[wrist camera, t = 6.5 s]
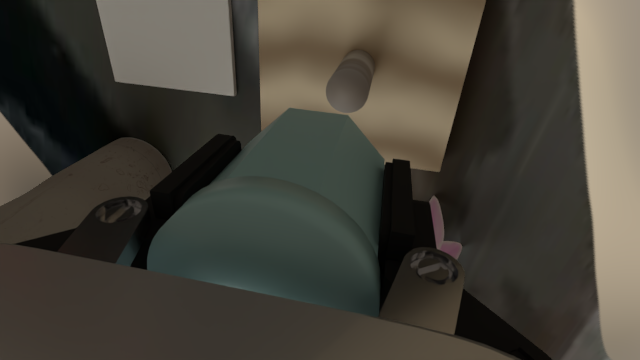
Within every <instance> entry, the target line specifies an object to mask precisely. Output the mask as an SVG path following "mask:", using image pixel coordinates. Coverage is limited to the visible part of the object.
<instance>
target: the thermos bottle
mask: <svg viewBox="0 0 640 360" xmlns="http://www.w3.org/2000/svg"><path fill="white" fill-rule="evenodd" d="M171 172H172V170H171V168H170V166H169V164H168V162H167V160H166V159H165V157H164V156H163V155H162V154H161V153H160V152H159V151H158V150H157V149H156V148H155V147H153V146H152V145H150V144H149V143H147V142H145V141H143V140H140V139H136V138H131V137H124V138H119V139H117V140H115V141H113V142H111V143H110V144H108V145H106V146H104V147H103V148H101V149H99V150H97V151H96V152H94V153H92V154H90V155H89V156H87V157H85V158H83V159H82V160H80V161H78V162H76V163H75V164H73V165H71V166H69V167H68V168H66V169H64V170H62V171H61V172H59V173H57V174H55V175H54V176H52V177H50V178H48V179H47V180H45V181H44V182H42V183H41V184H39V185H38V186H36V187H35V188H33V189H32V190H30V191H29V192H27V193H26V194H24V195H22V196H20V197H18V198H16V199H14V200H12V201H10V202H8V203H6V204H4V205H2V206H0V242H2V243H8V244H15V243H19V242H23V241H27V240H31V239H35V238H39V237H43V236H47V235H50V234H54V233H58V232H62V231H66V230H70V229H74V228H77V227H78V226H79V225H80V224H81V222H82V221H83V220H84V219H85V217H86V216H87V215H88V214H89V213H90V211H91V210H92V209H94V208H95V207H96V206H97V205H99V204H101V203H103V202H105V201H107V200H110V199H113V198H118V197H127V196H132V197H138V198H142V199H144V200H146V199H147V198H148V197H150V190H151V189H152V188H153V187H154V186H156V185H157V184H158V183H159V182H160V181H162V180H163V179H164V178H165V177H166V176H168V175H169V174H170V173H171Z"/></svg>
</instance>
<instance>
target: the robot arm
mask: <svg viewBox="0 0 640 360" xmlns="http://www.w3.org/2000/svg"><path fill="white" fill-rule="evenodd" d="M240 152H241V143H240V141H236V138H235V137H234V136H229V135H222V134H217V135H216V136H215V137H214V138H212V139H211V140H210V141H209V142H207V143H206V144H205V145H204V146H203V147H201V148H200V149H199V150H198V151H197V152H195V153H194V154H193V155H192V156H191V157H189V158H188V159H187V160H186V161H185V162H183V163H182V164H181V165H180V166H179V167H177V168H176V169H175V170H174V171H173V172H171V173H170V174H169V175H168V176H166V177H165V178H164V179H163V180H162V181H160V182H159V183H158V184H157V185H156V186H154V187H153V188H152V189H151V190H150V197H148V198H147V199H146V200H144V199H142V198H138V197H132V196H127V197H118V198H113V199H110V200H107V201H105V202H103V203H101V204H99V205H97V206H96V207H95V208H94V209H92V210H91V211H90V213H89V214H88V215H87V216H86V217H85V219H84V220H83V221H82V222H81V224H80V225H79V226H78V227H77V228H74V229H70V230H66V231H62V232H58V233H54V234H50V235H47V236H43V237H39V238H35V239H31V240H27V241H23V242H19V243H15V244H8V243H2V242H0V360H552V359H551V358H550V357H549V356H548V355H547V354H546V353H544V352H543V351H542V350H540V349H539V348H538V347H537V346H535V345H534V344H533V343H532V342H530V341H529V340H528V339H527V338H525V337H524V336H523V335H521V334H520V333H519V332H518V331H516V330H515V329H514V328H513V327H511V326H510V325H509V324H507V323H506V322H505V321H504V320H502V319H501V318H500V317H499V316H497V315H496V314H495V313H493V312H492V311H491V310H490V309H488V308H487V307H486V306H485V305H483V304H482V303H481V302H479V301H478V300H477V299H476V298H474V297H473V296H472V295H471V294H469V293H468V292H467V291H465V290H464V289H463V286H464V281H465V271H464V269H463V267H462V265H461V264H460V263H459V262H458V261H457V260H456V259H455V258H454V257H452V256H451V255H449V254H448V253H446V252H443V251H441V250H439V249H437V246H436V240H435V233H434V226H433V219H432V213H431V206H430V203H429V202H424V201H417V200H413V198H412V184H411V169H410V161H408V160H401V159H393V160H392V163H391V162H386V164H385V169H384V175H383V189H382V203H381V217H380V231H379V244H378V262H379V266H380V273H381V289H380V307H379V316H378V317H375V316H370V315H365V314H360V313H355V312H351V311H346V310H341V309H336V308H331V307H327V306H322V305H317V304H312V303H307V302H302V301H298V300H293V299H288V298H283V297H278V296H273V295H268V294H263V293H258V292H253V291H248V290H243V289H239V288H234V287H229V286H224V285H219V284H214V283H209V282H204V281H199V280H194V279H189V278H184V277H179V276H174V275H169V274H164V273H159V272H154V271H149V270H147V257H148V251H149V247H150V245H151V242H152V240H153V238H154V236H155V235H156V233H157V232H158V230H159V229H160V228H161V227H162V226H163V225H164V224H165V223H166V222H167V221H168V220H169V219H170V218H171V217H172V216H173V215H174V214H175V213H176V211H177V210H178V209H179V208H180V207H181V206H182V205H183V204H184V203H185V202H186V201H187V200H188V199H189V198H190V197H191V196H192V195H193V194H195V193H196V192H198V191H199V190H200V189H202V188H204V187H206V186H208V185H209V184H210V183H211V182H212V181H213V180H214V179H215V178H216V177H217V176H218V175H219V174H220V173H221V172H222V171H223V170H224V168H225V167H226V166H227V165H228V164H229V163H230V162H231V161H232V160H233V159H234V158H235V157H236V156H237V155H238V154H239V153H240Z"/></svg>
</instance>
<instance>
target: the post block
mask: <svg viewBox="0 0 640 360" xmlns="http://www.w3.org/2000/svg"><path fill="white" fill-rule="evenodd" d="M485 3H486V0H258V23H259V61H260V99H261V132H262V131H263V130H264V129H265V128H266V127H267V126H269V125H270V124H271V123H272V122H273V121H274V120H276V119H277V118H278V117H279V116H280V115H281V114H283V113H284V112H285V111H286V110H287V109H288V108H296V109H303V110H311V111H319V112H327V113H335V114H343V115H348V116H349V117H350V118H351V119H352V120H353V122H354V123H355V124H356V125H357V127H358V128H359V129H360V130H361V131H362V133H363V134H364V135H365V136H366V138H367V139H368V140H369V141H370V142H371V144H372V145H373V146H374V147H375V149H376V150H377V151H378V152H379V153H380V155H381V156H382V157H383V158H384V159H385V162H384V164H386V162H391V163H392V160H393V159H401V160H408V161H410V168H414V169H421V170H428V171H435V172H440V168H441V165H442V161H443V157H444V154H445V150H446V146H447V142H448V139H449V135H450V131H451V128H452V124H453V120H454V117H455V113H456V109H457V106H458V102H459V98H460V95H461V91H462V87H463V84H464V80H465V76H466V73H467V69H468V65H469V62H470V58H471V54H472V50H473V47H474V43H475V39H476V36H477V32H478V28H479V25H480V21H481V17H482V14H483V10H484V6H485Z"/></svg>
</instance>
